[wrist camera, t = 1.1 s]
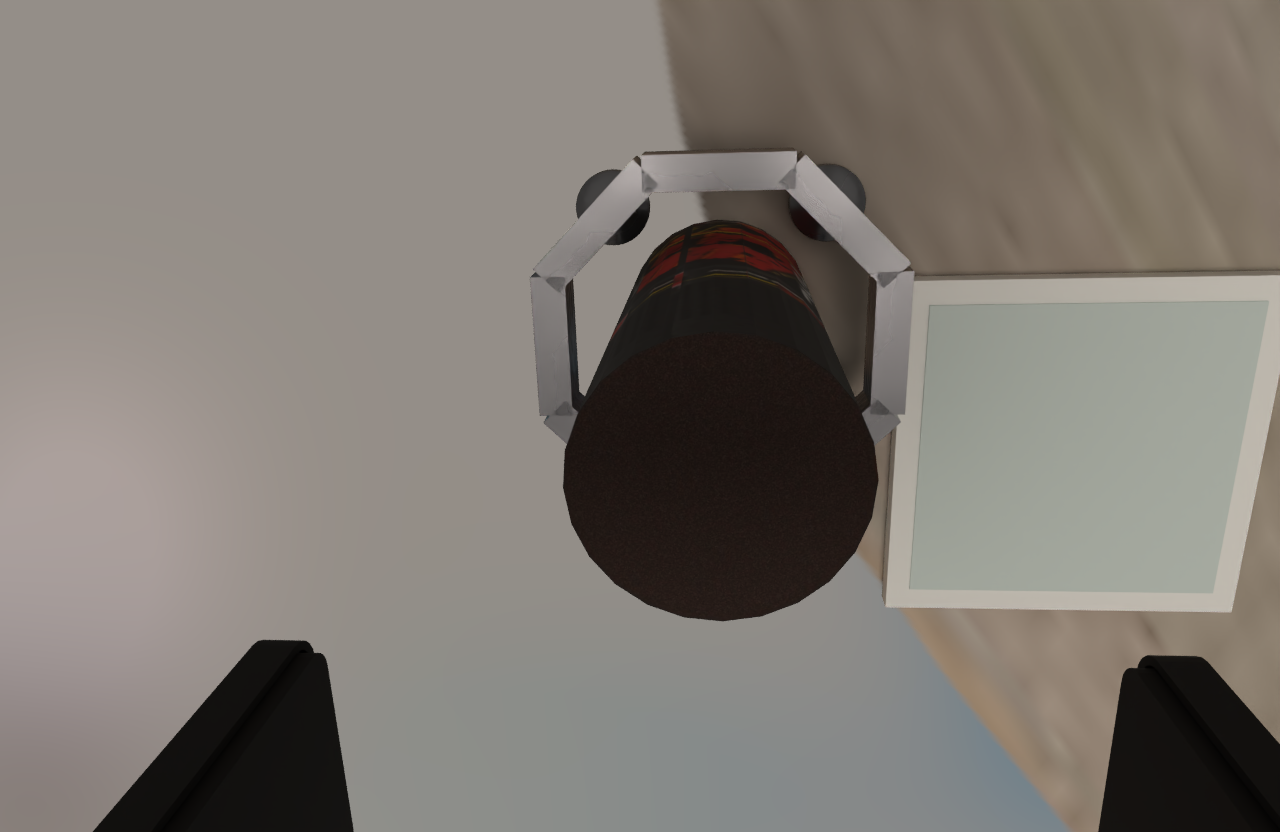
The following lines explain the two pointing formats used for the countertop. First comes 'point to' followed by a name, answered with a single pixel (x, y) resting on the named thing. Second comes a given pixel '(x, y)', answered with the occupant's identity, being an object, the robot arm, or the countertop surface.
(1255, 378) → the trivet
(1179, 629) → the countertop surface
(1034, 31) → the countertop surface
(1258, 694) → the countertop surface
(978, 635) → the countertop surface
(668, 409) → the deodorant
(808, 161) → the ring stand
